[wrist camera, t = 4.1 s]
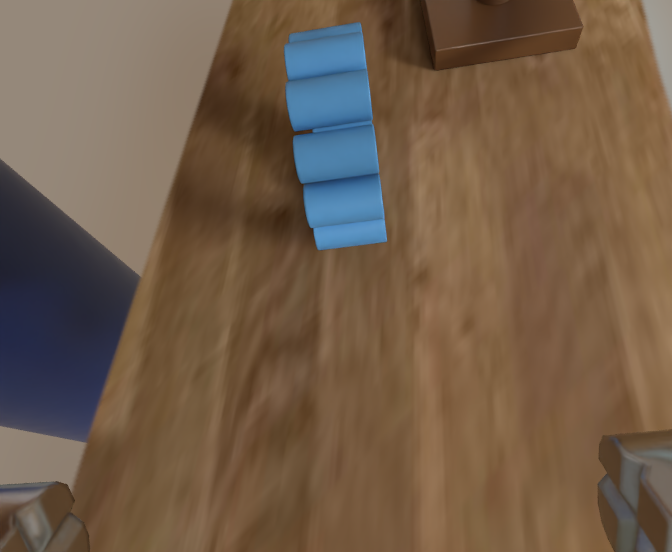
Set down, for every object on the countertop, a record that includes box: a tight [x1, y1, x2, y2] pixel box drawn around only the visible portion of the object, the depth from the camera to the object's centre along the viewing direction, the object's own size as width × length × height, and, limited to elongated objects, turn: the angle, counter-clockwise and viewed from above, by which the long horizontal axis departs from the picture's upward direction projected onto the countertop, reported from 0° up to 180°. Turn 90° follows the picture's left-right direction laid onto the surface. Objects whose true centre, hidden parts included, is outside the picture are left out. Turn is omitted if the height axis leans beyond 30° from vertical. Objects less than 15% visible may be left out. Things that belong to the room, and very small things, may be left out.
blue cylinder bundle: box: [284, 22, 387, 250], centre depth 23 cm, size 9×3×9 cm, turn 4°
